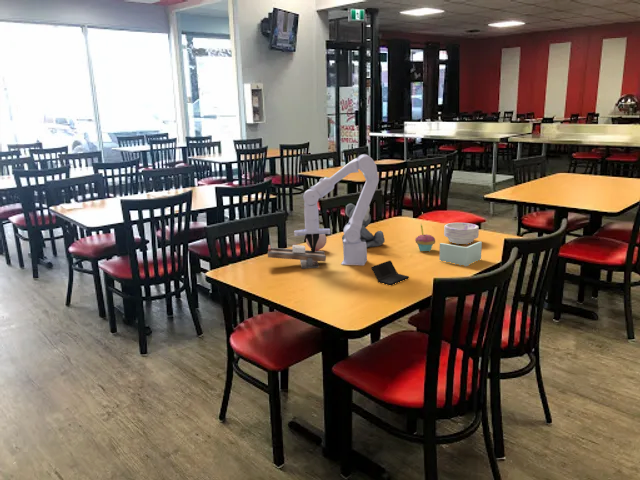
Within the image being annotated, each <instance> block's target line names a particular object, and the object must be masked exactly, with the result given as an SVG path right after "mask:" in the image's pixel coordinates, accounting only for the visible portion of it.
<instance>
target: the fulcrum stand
mask: <svg viewBox="0 0 640 480" xmlns="http://www.w3.org/2000/svg"><path fill="white" fill-rule="evenodd" d="M299 261H300V262H299V263H300V267H301V269H302V270H304V269H317V268H320V265H319V261H312V258H307V260H299Z"/></svg>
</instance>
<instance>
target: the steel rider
mask: <svg viewBox="0 0 640 480" xmlns="http://www.w3.org/2000/svg"><path fill="white" fill-rule="evenodd" d="M291 249H292V253H297V254H305V250H306V246H305V245H299V244H292V248H291Z"/></svg>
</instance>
